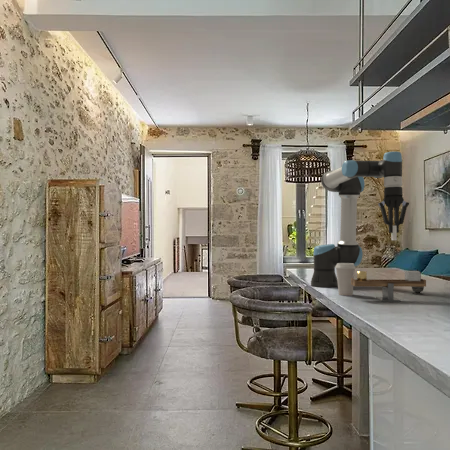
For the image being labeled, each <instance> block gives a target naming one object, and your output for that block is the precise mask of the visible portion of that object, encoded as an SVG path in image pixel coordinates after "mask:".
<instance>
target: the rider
mask: <svg viewBox="0 0 450 450" xmlns="http://www.w3.org/2000/svg"><path fill="white" fill-rule="evenodd" d="M420 273H421V271H420V270H418V271H417V270H404V280H405V281H420Z"/></svg>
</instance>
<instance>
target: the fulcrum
mask: <svg viewBox="0 0 450 450" xmlns="http://www.w3.org/2000/svg"><path fill="white" fill-rule="evenodd" d="M394 289H395V286H394V283H388V286H381V290H382V291H381V292H382V294H381V296H375V299H376V300H377V301H379V302H380V303H401V299H399V298H397V297H395V296H394Z"/></svg>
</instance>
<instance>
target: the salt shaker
mask: <svg viewBox="0 0 450 450" xmlns="http://www.w3.org/2000/svg"><path fill="white" fill-rule="evenodd" d="M416 271H419V269H416ZM421 275H422V273H421V272H420V278H421V277H422V276H421ZM421 279H422V278H421ZM424 288H425V287H411V290H412V291H413V292H412V293H411V295H417V296H423V294H424V293H423V291H424V290H425V289H424Z"/></svg>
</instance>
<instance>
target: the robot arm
mask: <svg viewBox="0 0 450 450" xmlns="http://www.w3.org/2000/svg"><path fill="white" fill-rule="evenodd" d="M368 177H369V178H374V179H382V178H383V187H384V189H383V194H384V195H383V199H382V201H381V202H378V203H377V205H378V207H379V209H380V211H381V216H382V220H383V223H384V224H385V225H387V226H388V233H390V234H391V238H390V239H391V241H397V240H398V239H397V237H398V236H397V233H399V232H400V229H399V228H400V225H402V224H404V220H405V218H406V212H407V208H408V206H410V202H407V201H406V200H405V199H404V196H403V194H404V193H403V155H402V152H400V151H388V152H387V151H386V152H384V153H383V158H382V159H381V160H354V159H349V160H344V162H343V163H342V165H341V167H339V168H336V169H334V170H328V171H326V172H324V173H323V175H322V176H321V179H320V182H321V186H322V187H323V188H324V189H325V190H327V191H328V192H332V193H338V196H339V198H341V199H340V201H341V202H340V230H339V231H340V234H339V235H340V237H339V240H338V242H337V244H336V245H337V246H336V245H335V244H334V243H329V244H320V245H316V246H314V248H313V274H312V277H311V280H310V286H312V287H317V288H336V287H337V288H338V281H337V273H336V268H335V266H336V265H337V263H353V264H354V266H355V267H358V266H359V265H360V264H361V263H362V260H363V249H362V247H361V246H360V244H359V243H358V242H357V217H358V215H357V213H358V212H357V211H358V198H359V197H360V196H361V193H362V192H363V191H364V189H365V185H366V184H365V178H368ZM385 206H387V211H386V207H385ZM401 206H402V207H401ZM400 207H401V211H400ZM393 211H394V212H393Z"/></svg>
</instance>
